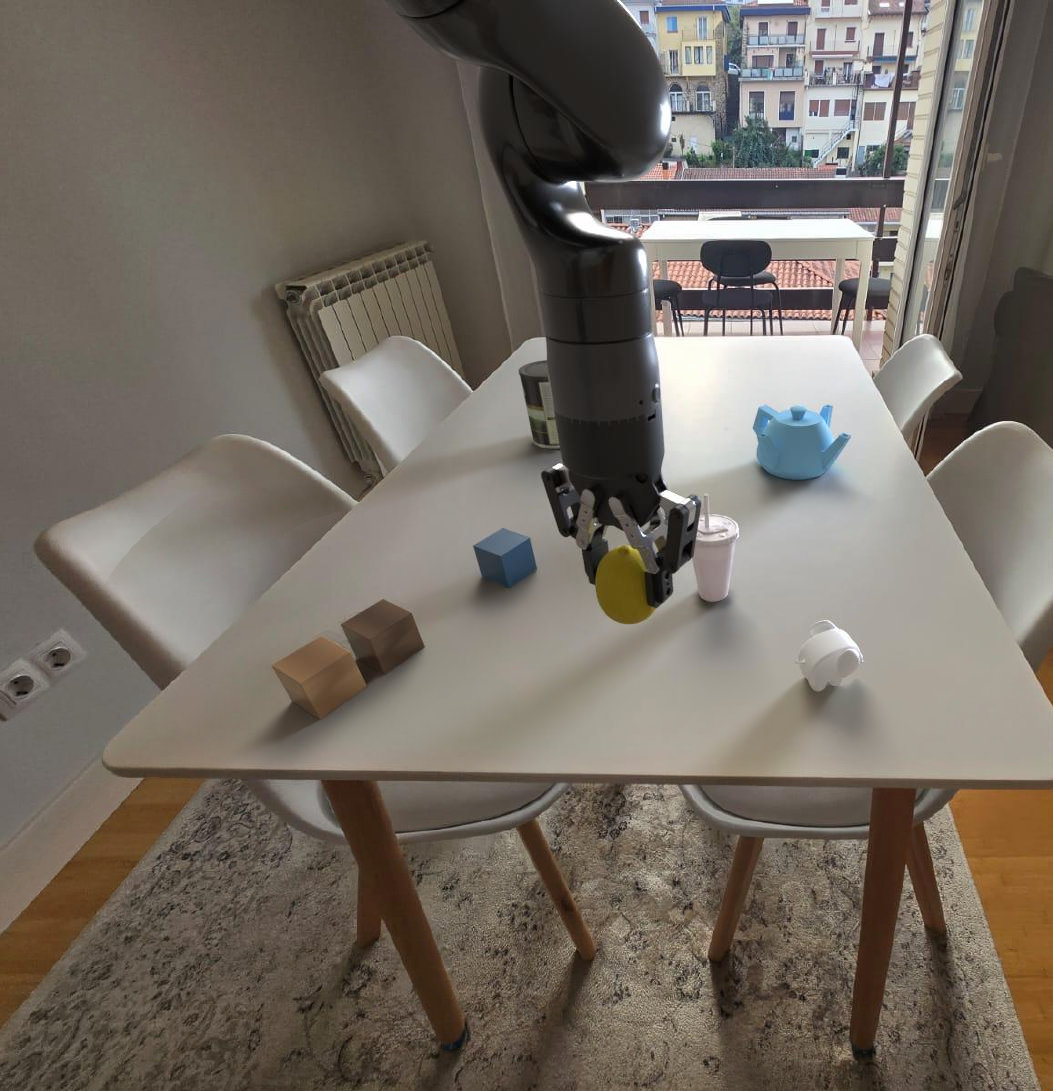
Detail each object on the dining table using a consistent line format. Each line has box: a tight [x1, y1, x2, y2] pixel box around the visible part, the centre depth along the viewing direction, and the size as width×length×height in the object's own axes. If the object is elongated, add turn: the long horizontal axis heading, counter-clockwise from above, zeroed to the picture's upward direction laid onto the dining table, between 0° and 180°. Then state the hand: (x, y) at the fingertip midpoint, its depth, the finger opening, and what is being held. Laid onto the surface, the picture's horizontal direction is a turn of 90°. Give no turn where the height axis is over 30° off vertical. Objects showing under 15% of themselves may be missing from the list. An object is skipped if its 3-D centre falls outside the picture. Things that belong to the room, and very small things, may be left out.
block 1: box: [270, 635, 368, 720], centre depth 60 cm, size 5×5×5 cm
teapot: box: [752, 404, 852, 481], centre depth 104 cm, size 15×15×11 cm
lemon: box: [594, 544, 657, 625], centre depth 51 cm, size 6×6×8 cm
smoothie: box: [691, 493, 740, 603], centre depth 72 cm, size 6×6×14 cm
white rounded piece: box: [793, 619, 865, 692], centre depth 61 cm, size 7×8×6 cm
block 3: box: [472, 527, 538, 589], centre depth 78 cm, size 5×5×5 cm
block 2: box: [340, 598, 426, 675], centre depth 65 cm, size 5×5×5 cm
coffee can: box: [518, 359, 560, 450], centre depth 114 cm, size 10×10×14 cm
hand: (629, 590), depth 51 cm, fingers closed on lemon, 5 cm apart
